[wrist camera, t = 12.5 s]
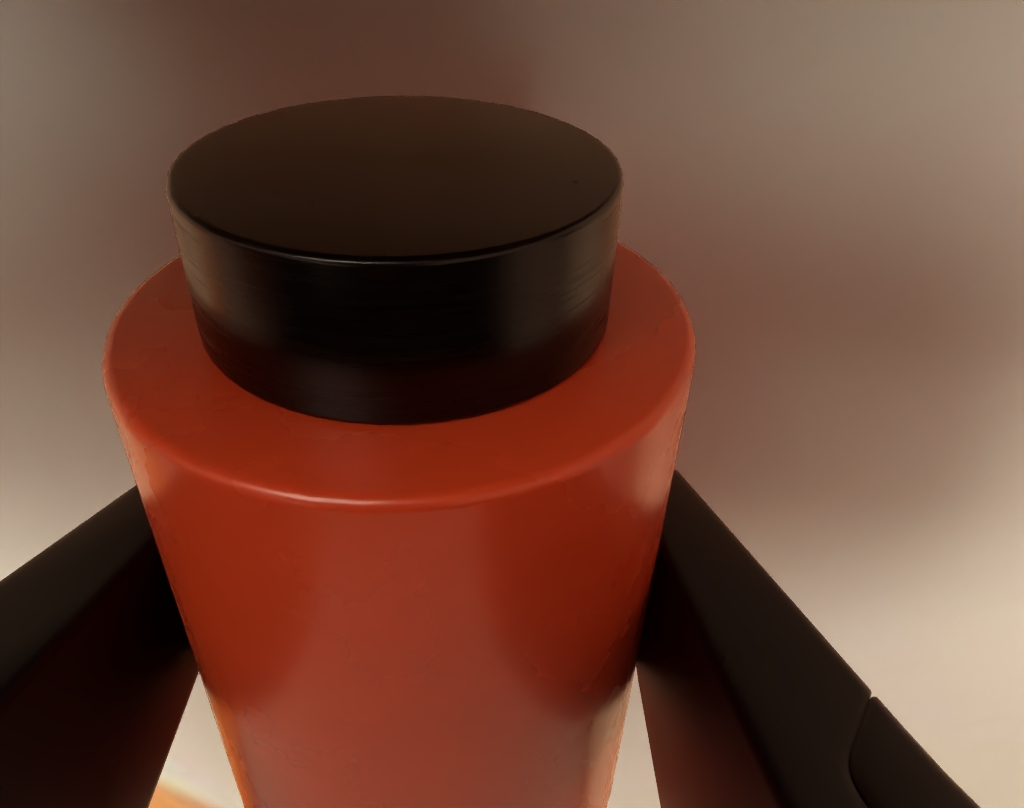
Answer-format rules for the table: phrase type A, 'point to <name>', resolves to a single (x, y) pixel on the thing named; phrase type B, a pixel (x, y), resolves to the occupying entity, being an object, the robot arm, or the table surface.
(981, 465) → the table surface
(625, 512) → the bottle
